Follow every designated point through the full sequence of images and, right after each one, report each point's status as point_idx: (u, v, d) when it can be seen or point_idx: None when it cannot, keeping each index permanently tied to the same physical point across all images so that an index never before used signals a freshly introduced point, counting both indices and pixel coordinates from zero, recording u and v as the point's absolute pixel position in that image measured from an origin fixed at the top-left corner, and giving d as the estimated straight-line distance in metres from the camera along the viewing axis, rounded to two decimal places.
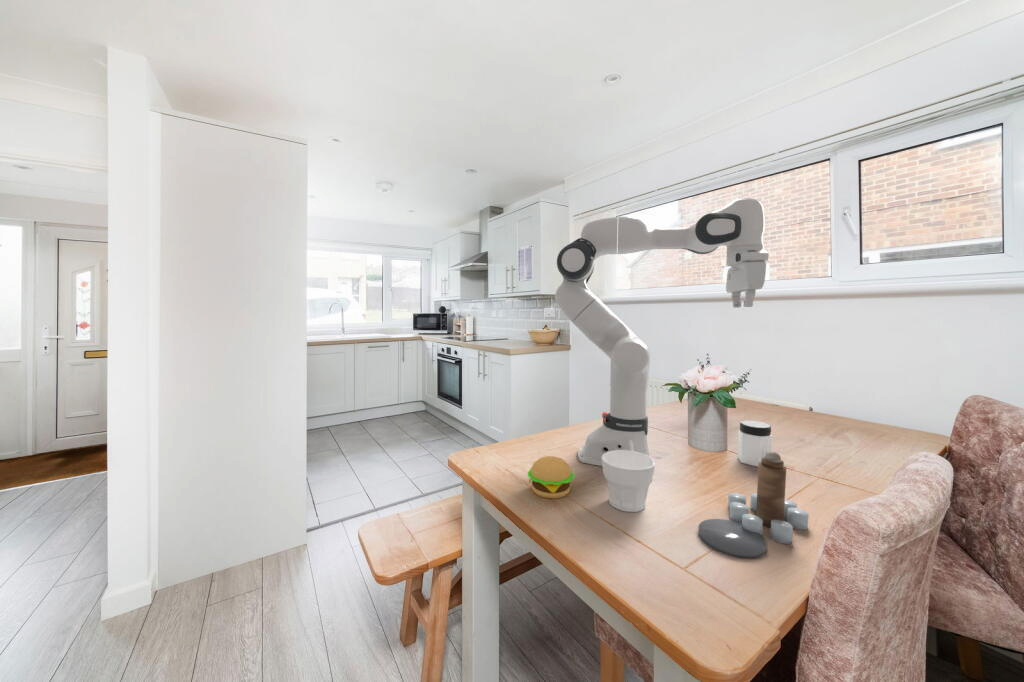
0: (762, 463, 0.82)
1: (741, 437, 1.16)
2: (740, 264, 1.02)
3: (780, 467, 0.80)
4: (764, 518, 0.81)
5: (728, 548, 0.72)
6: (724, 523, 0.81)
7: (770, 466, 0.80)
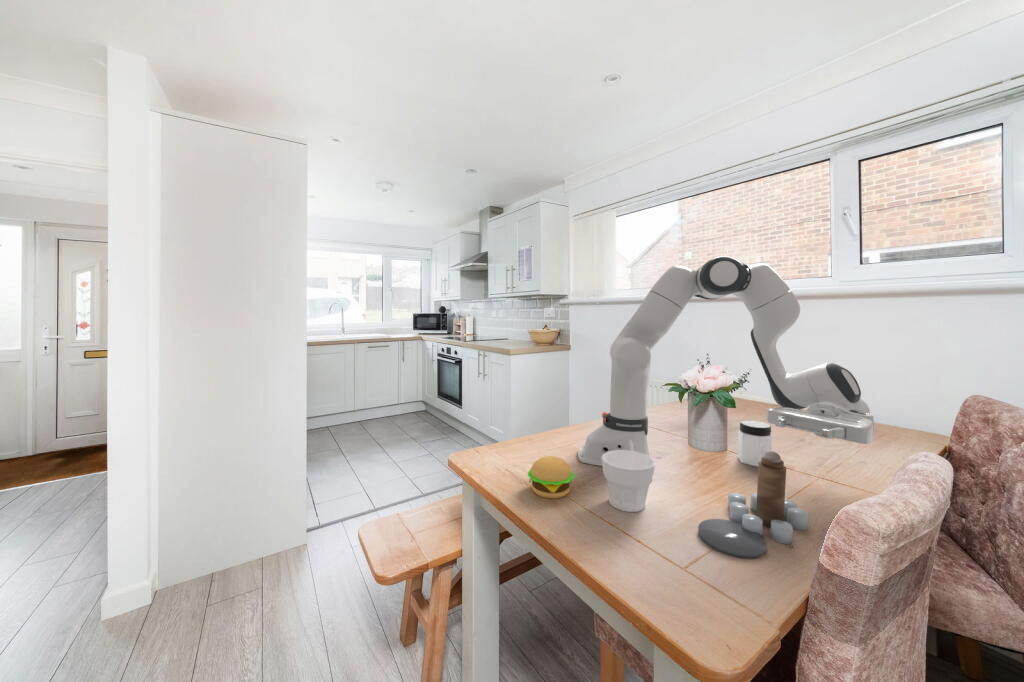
0: (762, 463, 0.82)
1: (741, 437, 1.16)
2: (855, 416, 0.88)
3: (780, 467, 0.80)
4: (764, 518, 0.81)
5: (728, 548, 0.72)
6: (724, 523, 0.81)
7: (770, 466, 0.80)
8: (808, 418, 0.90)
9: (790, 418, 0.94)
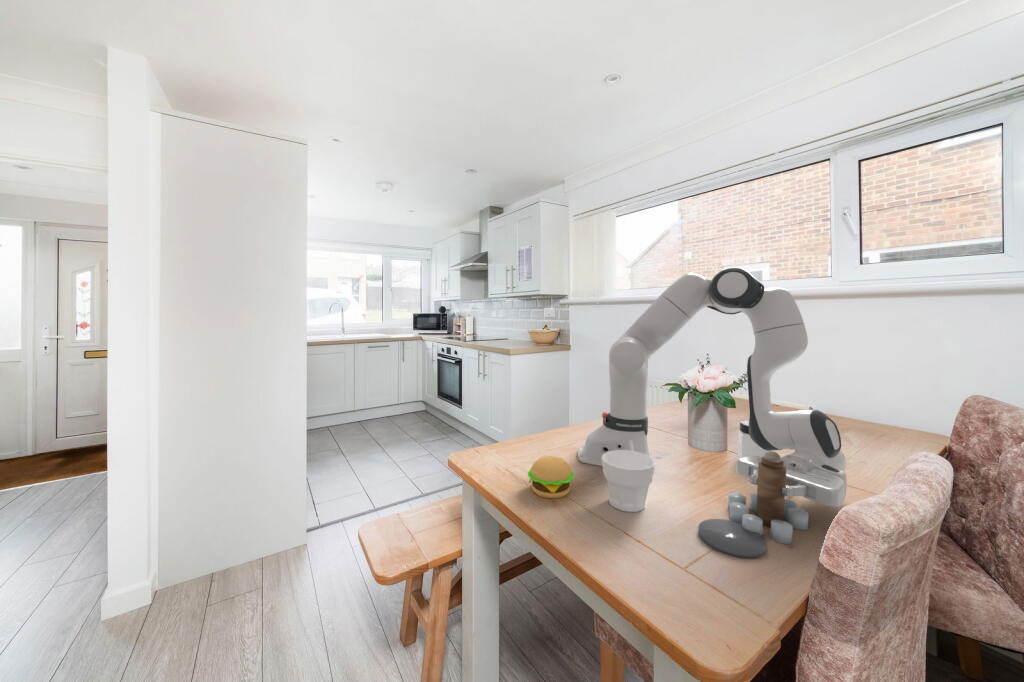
0: (762, 463, 0.82)
1: (741, 437, 1.16)
2: (827, 473, 0.82)
3: (780, 467, 0.80)
4: (764, 518, 0.81)
5: (728, 548, 0.72)
6: (724, 523, 0.81)
7: (770, 466, 0.80)
8: None
9: None
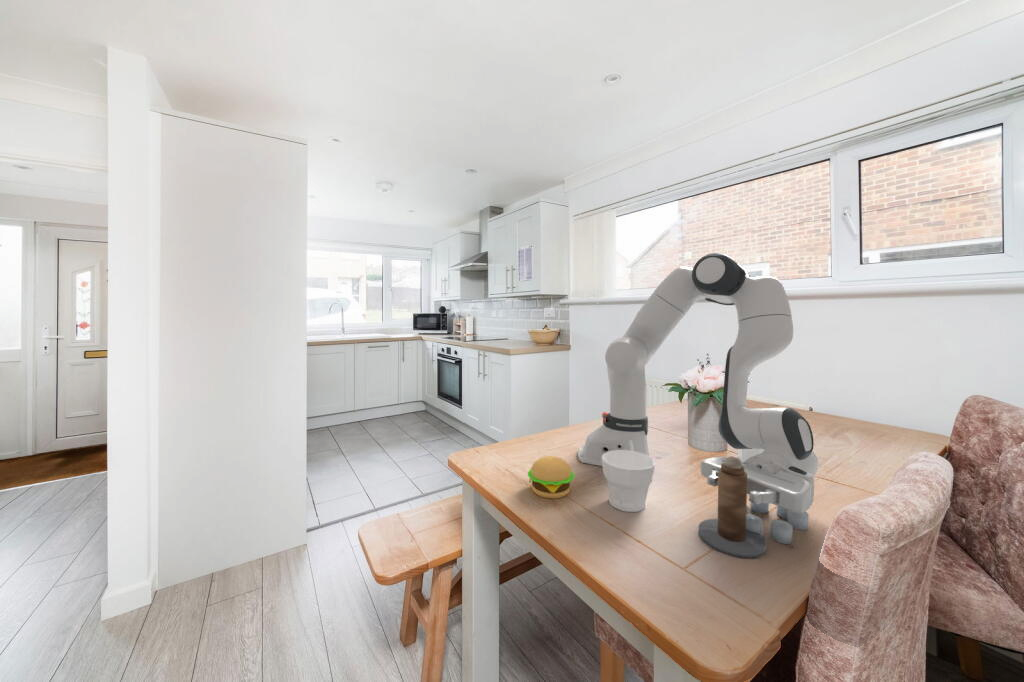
0: (722, 469, 0.76)
1: None
2: (794, 475, 0.76)
3: (740, 474, 0.74)
4: (725, 529, 0.75)
5: (728, 548, 0.72)
6: None
7: (730, 473, 0.75)
8: None
9: None
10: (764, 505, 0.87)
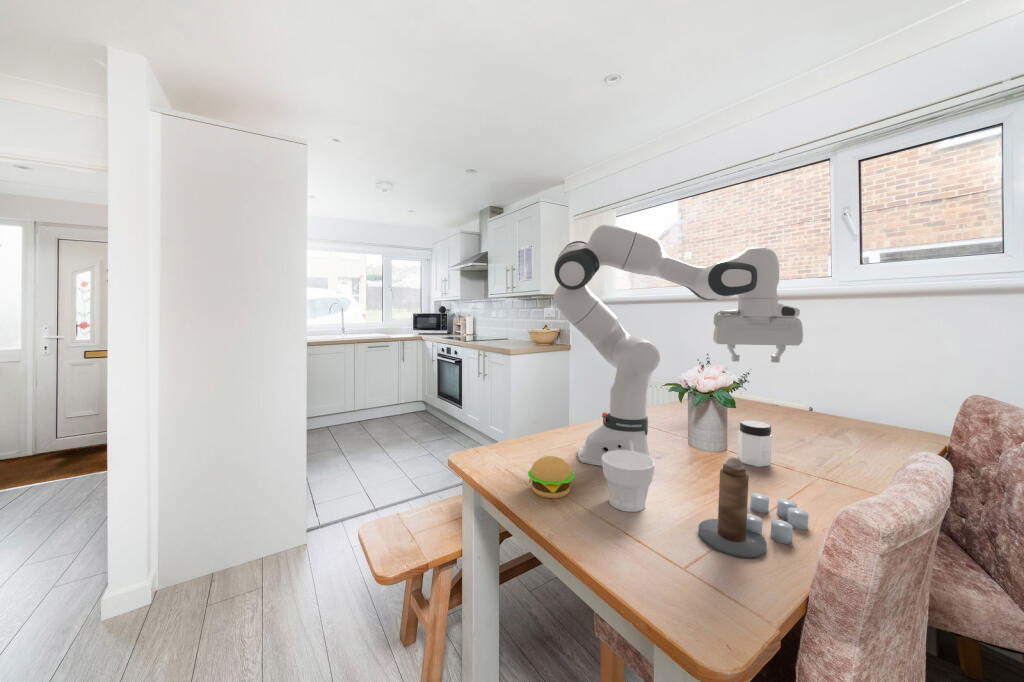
0: (723, 470, 0.76)
1: (741, 437, 1.16)
2: (787, 319, 0.96)
3: (742, 475, 0.74)
4: (725, 530, 0.75)
5: (728, 548, 0.72)
6: None
7: (731, 474, 0.74)
8: (755, 344, 0.99)
9: None
10: (764, 505, 0.87)
